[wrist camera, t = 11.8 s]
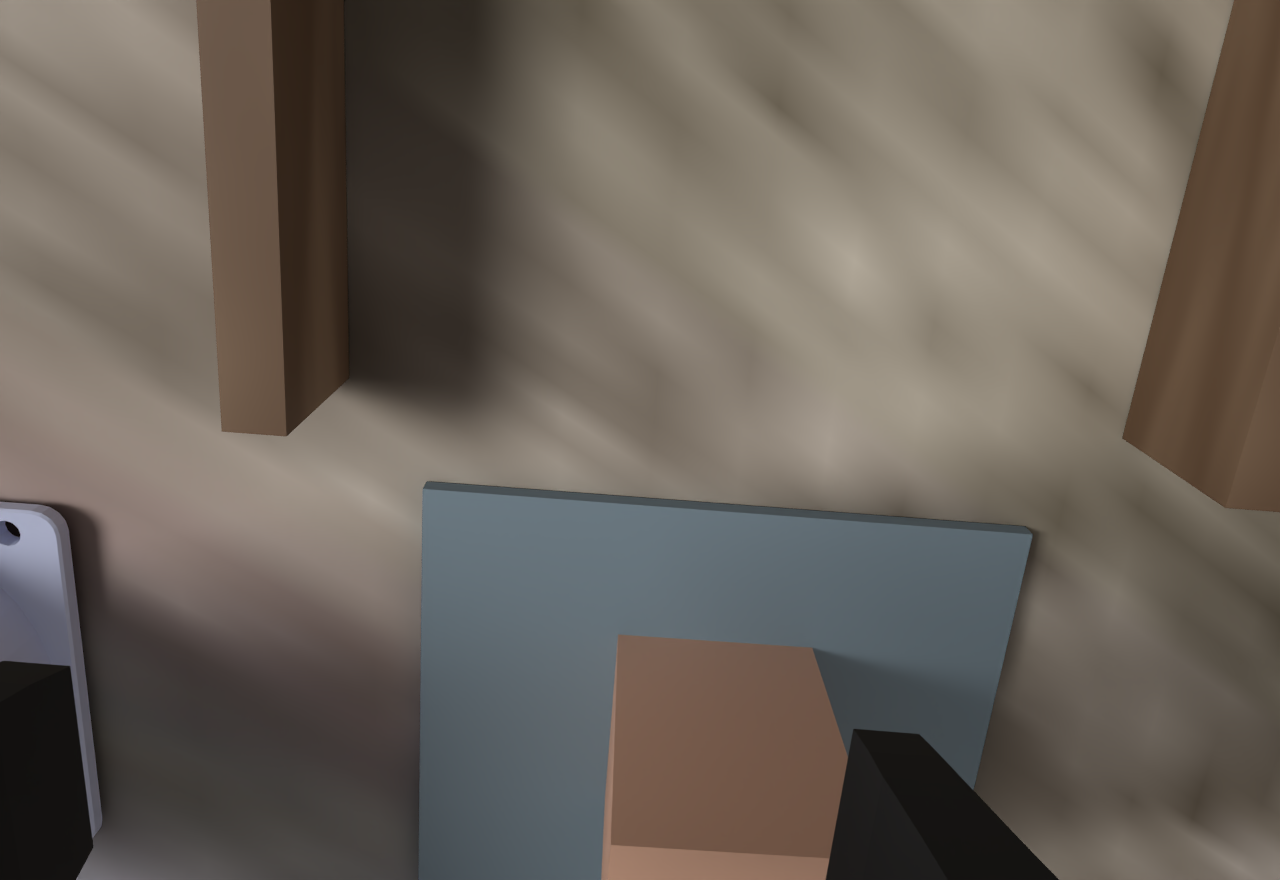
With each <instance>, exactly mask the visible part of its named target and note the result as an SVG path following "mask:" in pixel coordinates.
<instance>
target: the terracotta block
mask: <svg viewBox="0 0 1280 880" xmlns="http://www.w3.org/2000/svg"><path fill="white" fill-rule="evenodd" d="M847 760H848V756H847V753H846V750H845V747H844V743H843V740H842V737H841V734H840V731H839V728H838V725H837V722H836V719H835V716H834V713H833V710H832V707H831V704H830V701H829V698H828V695H827V691H826V688H825V685H824V682H823V679H822V676H821V673H820V670H819V667H818V664H817V661H816V658H815V655H814V652H813V649H812V648H810V647H795V646H780V645H765V644H751V643H736V642H721V641H706V640H691V639H677V638H662V637H647V636H632V635H618V642H617V654H616V667H615V679H614V691H613V704H612V716H611V728H610V741H609V753H608V765H607V778H606V790H605V807H604V829H603V851H602V873H601V880H826V875H827V869H828V864H829V858H830V853H831V847H832V842H833V837H834V831H835V826H836V820H837V815H838V809H839V804H840V798H841V793H842V788H843V782H844V777H845V771H846V766H847Z"/></svg>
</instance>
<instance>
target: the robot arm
mask: <svg viewBox="0 0 1280 880" xmlns="http://www.w3.org/2000/svg"><path fill="white" fill-rule="evenodd" d="M5 521H7V522H11V523H13V524H14V525H15V526H16V527H17V528H18V529H19V532H20V534H21V535H20V537H17V536H14V535H13V534H11V533H10V532H9V531H8V530H7V527H6V525H5ZM101 826H102V811H101V802H100V794H99V785H98V776H97V768H96V759H95V751H94V742H93V734H92V725H91V716H90V708H89V699H88V691H87V682H86V674H85V665H84V656H83V648H82V639H81V631H80V622H79V614H78V605H77V597H76V588H75V579H74V571H73V562H72V554H71V545H70V537H69V529H68V526H67V523H66V521H65V519H64V518H63V517H62V516H61V514H60V513H59V512H57V511H56V510H54V509H52V508H51V507H48V506H44V505H38V504H25V503H11V502H0V880H76V878H77V877H78V875H79V873H80V871H81V869H82V867H83V865H84V863H85V862H86V860H87V858H88V856H89V854H90V852H91V850H92V848H93V840H92V838H93V837H94V836H95V834H96V833H97V832H98V830H99V829H100V828H101ZM826 880H1059V879H1058V878H1057V877H1056V876H1055V875H1054V874H1053V873H1052V872H1051V871H1050V870H1049V869H1048V868H1047V867H1046V866H1045V865H1044V864H1043V863H1042V862H1041V861H1040V860H1039V859H1038V858H1037V857H1036V856H1035V855H1034V854H1033V853H1032V852H1031V851H1030V850H1029V849H1028V847H1027V846H1026V845H1025V844H1024V843H1023V842H1022V841H1021V840H1020V839H1019V838H1018V837H1017V836H1016V835H1015V834H1014V833H1013V832H1012V831H1011V830H1010V829H1009V828H1008V827H1007V826H1006V824H1005V823H1004V822H1003V821H1002V820H1001V819H1000V818H999V817H998V816H997V815H996V814H995V813H994V812H993V811H992V810H991V809H990V808H989V807H988V805H987V804H986V803H985V802H984V801H983V800H982V799H981V798H980V797H979V796H978V795H977V794H976V793H975V792H974V791H973V789H972V788H971V787H970V786H969V785H968V784H967V783H966V782H965V781H964V780H963V779H962V778H961V777H960V776H959V775H958V773H957V772H956V771H955V770H954V769H953V768H952V767H951V766H950V765H949V764H948V763H947V762H946V761H945V760H944V759H943V758H942V757H941V756H940V754H939V753H938V752H937V751H936V750H935V749H934V748H933V747H932V746H931V745H930V744H929V743H928V742H927V741H926V740H925V739H924V738H923V737H922V736H921V735H920V734H914V733H901V732H889V731H876V730H864V729H853V733H852V739H851V744H850V750H849V755H848V760H847V766H846V771H845V777H844V782H843V788H842V793H841V798H840V804H839V809H838V815H837V820H836V826H835V831H834V837H833V842H832V847H831V853H830V858H829V864H828V869H827V875H826Z"/></svg>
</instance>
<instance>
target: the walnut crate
mask: <svg viewBox="0 0 1280 880" xmlns="http://www.w3.org/2000/svg"><path fill="white" fill-rule="evenodd" d="M196 3H197V20H198V37H199V54H200V70H201V87H202V104H203V121H204V138H205V155H206V172H207V189H208V206H209V222H210V239H211V256H212V273H213V290H214V307H215V324H216V341H217V358H218V374H219V391H220V408H221V425H222V431H223V432H236V433H249V434H262V435H275V436H287V435H288V434H290V433H291V432H292V431H293V430H294V429H295V428H296V427H297V426H298V425H299V424H300V423H301V422H302V421H303V420H305V419H306V418H307V417H308V416H309V415H310V414H311V413H312V412H313V411H314V410H315V409H316V408H317V407H318V406H320V405H321V404H322V403H323V402H324V401H325V400H326V399H327V398H328V397H329V396H330V395H331V394H332V393H333V392H335V391H336V390H337V389H338V388H339V387H340V386H341V385H342V384H343V383H344V382H345V381H346V380H347V379H349V330H348V261H347V192H346V123H345V54H344V0H196ZM1123 439H1124V440H1126V441H1127V442H1129V443H1130V444H1132V445H1133V446H1135V447H1136V448H1138V449H1139V450H1141V451H1142V452H1143V453H1145V454H1146V455H1148V456H1149V457H1151V458H1152V459H1154V460H1155V461H1157V462H1158V463H1160V464H1161V465H1163V466H1164V467H1166V468H1167V469H1169V470H1170V471H1172V472H1173V473H1175V474H1176V475H1178V476H1179V477H1180V478H1182V479H1183V480H1185V481H1186V482H1188V483H1189V484H1191V485H1192V486H1194V487H1195V488H1197V489H1198V490H1200V491H1201V492H1203V493H1204V494H1206V495H1207V496H1209V497H1210V498H1212V499H1213V500H1215V501H1216V502H1218V503H1219V504H1220V505H1222V506H1223V507H1225V508H1234V509H1247V510H1260V511H1273V512H1280V0H1234V4H1233V8H1232V11H1231V15H1230V19H1229V23H1228V27H1227V31H1226V35H1225V39H1224V43H1223V47H1222V51H1221V54H1220V58H1219V62H1218V66H1217V70H1216V74H1215V78H1214V82H1213V86H1212V90H1211V94H1210V97H1209V101H1208V105H1207V109H1206V113H1205V117H1204V121H1203V125H1202V129H1201V133H1200V137H1199V140H1198V144H1197V148H1196V152H1195V156H1194V160H1193V164H1192V168H1191V172H1190V176H1189V180H1188V183H1187V187H1186V191H1185V195H1184V199H1183V203H1182V207H1181V211H1180V215H1179V219H1178V223H1177V226H1176V230H1175V234H1174V238H1173V242H1172V246H1171V250H1170V254H1169V258H1168V262H1167V266H1166V270H1165V273H1164V277H1163V281H1162V285H1161V289H1160V293H1159V297H1158V301H1157V305H1156V309H1155V313H1154V316H1153V320H1152V324H1151V328H1150V332H1149V336H1148V340H1147V344H1146V348H1145V352H1144V356H1143V359H1142V363H1141V367H1140V371H1139V375H1138V379H1137V383H1136V387H1135V391H1134V395H1133V399H1132V402H1131V406H1130V410H1129V414H1128V418H1127V422H1126V426H1125V430H1124V434H1123Z"/></svg>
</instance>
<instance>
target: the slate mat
mask: <svg viewBox="0 0 1280 880" xmlns="http://www.w3.org/2000/svg"><path fill="white" fill-rule="evenodd" d="M1032 536H1033V534H1032V533H1031V532H1030V531H1029V530H1028V529H1027V528H1026V527H1025V526H1014V525H1000V524H987V523H974V522H960V521H947V520H934V519H920V518H907V517H894V516H881V515H867V514H854V513H841V512H827V511H814V510H801V509H787V508H774V507H761V506H747V505H734V504H721V503H707V502H694V501H681V500H668V499H654V498H641V497H628V496H614V495H601V494H588V493H574V492H561V491H548V490H534V489H521V488H508V487H494V486H481V485H468V484H455V483H441V482H428V481H427V482H426V484H425V486H424V488H423V510H422V600H421V690H420V780H419V870H418V880H601V873H602V851H603V829H604V807H605V790H606V778H607V765H608V753H609V741H610V728H611V716H612V704H613V691H614V679H615V667H616V654H617V642H618V635H632V636H647V637H662V638H677V639H691V640H706V641H721V642H736V643H751V644H765V645H780V646H795V647H810V648H812V649H813V652H814V655H815V658H816V661H817V664H818V667H819V670H820V673H821V676H822V679H823V682H824V685H825V688H826V691H827V695H828V698H829V701H830V704H831V707H832V710H833V713H834V716H835V719H836V722H837V725H838V728H839V731H840V734H841V737H842V740H843V743H844V747H845V750H846V753H847V756H848V755H849V750H850V744H851V739H852V733H853V729H864V730H876V731H889V732H901V733H914V734H920V735H921V736H922V737H923V738H924V739H925V740H926V741H927V742H928V743H929V744H930V745H931V746H932V747H933V748H934V749H935V750H936V751H937V752H938V753H939V754H940V756H941V757H942V758H943V759H944V760H945V761H946V762H947V763H948V764H949V765H950V766H951V767H952V768H953V769H954V770H955V771H956V772H957V773H958V775H959V776H960V777H961V778H962V779H963V780H964V781H965V782H966V783H967V784H968V785H969V786H970V787H971V788H972V789H973V790H974V786H975V782H976V777H977V773H978V769H979V764H980V760H981V756H982V751H983V747H984V743H985V738H986V734H987V730H988V726H989V721H990V717H991V713H992V708H993V704H994V700H995V695H996V691H997V687H998V682H999V678H1000V674H1001V670H1002V665H1003V661H1004V657H1005V652H1006V648H1007V644H1008V639H1009V635H1010V631H1011V627H1012V622H1013V618H1014V614H1015V609H1016V605H1017V601H1018V596H1019V592H1020V588H1021V583H1022V579H1023V575H1024V571H1025V566H1026V562H1027V558H1028V553H1029V549H1030V545H1031V540H1032Z"/></svg>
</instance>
